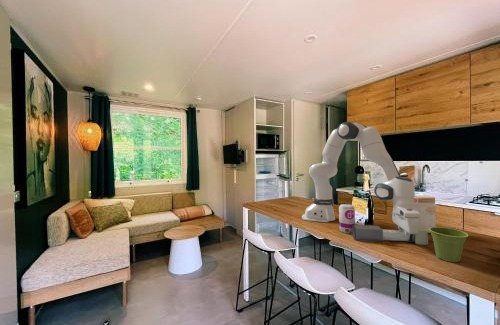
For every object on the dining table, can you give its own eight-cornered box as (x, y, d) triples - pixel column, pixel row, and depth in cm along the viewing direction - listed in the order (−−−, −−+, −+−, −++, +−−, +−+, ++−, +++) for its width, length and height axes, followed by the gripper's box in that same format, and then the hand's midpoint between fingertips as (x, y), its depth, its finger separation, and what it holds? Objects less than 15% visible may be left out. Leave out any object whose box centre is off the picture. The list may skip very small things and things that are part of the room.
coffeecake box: (426, 228, 123) (426, 195, 122) (436, 233, 115) (435, 197, 115) (399, 228, 124) (398, 195, 124) (407, 232, 117) (406, 197, 117)
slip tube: (372, 240, 107) (372, 230, 107) (369, 236, 113) (369, 227, 113) (420, 242, 102) (420, 233, 102) (414, 238, 108) (414, 229, 108)
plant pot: (443, 265, 82) (442, 236, 82) (422, 251, 94) (422, 226, 94) (477, 266, 80) (477, 236, 80) (452, 252, 92) (452, 226, 92)
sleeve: (354, 240, 109) (354, 228, 109) (351, 235, 115) (351, 224, 115) (383, 241, 106) (382, 229, 106) (378, 236, 112) (378, 225, 112)
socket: (416, 244, 102) (415, 230, 102) (408, 238, 109) (408, 225, 109) (428, 244, 101) (427, 231, 101) (419, 238, 108) (419, 226, 108)
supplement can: (358, 233, 118) (357, 206, 118) (343, 234, 118) (342, 207, 118) (350, 228, 126) (350, 203, 126) (337, 229, 126) (336, 204, 126)
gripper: (388, 204, 117) (389, 229, 117) (406, 214, 97) (406, 244, 97) (401, 205, 116) (402, 230, 116) (422, 214, 96) (422, 245, 96)
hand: (404, 236), depth 106 cm, fingers closed on slip tube, 4 cm apart
